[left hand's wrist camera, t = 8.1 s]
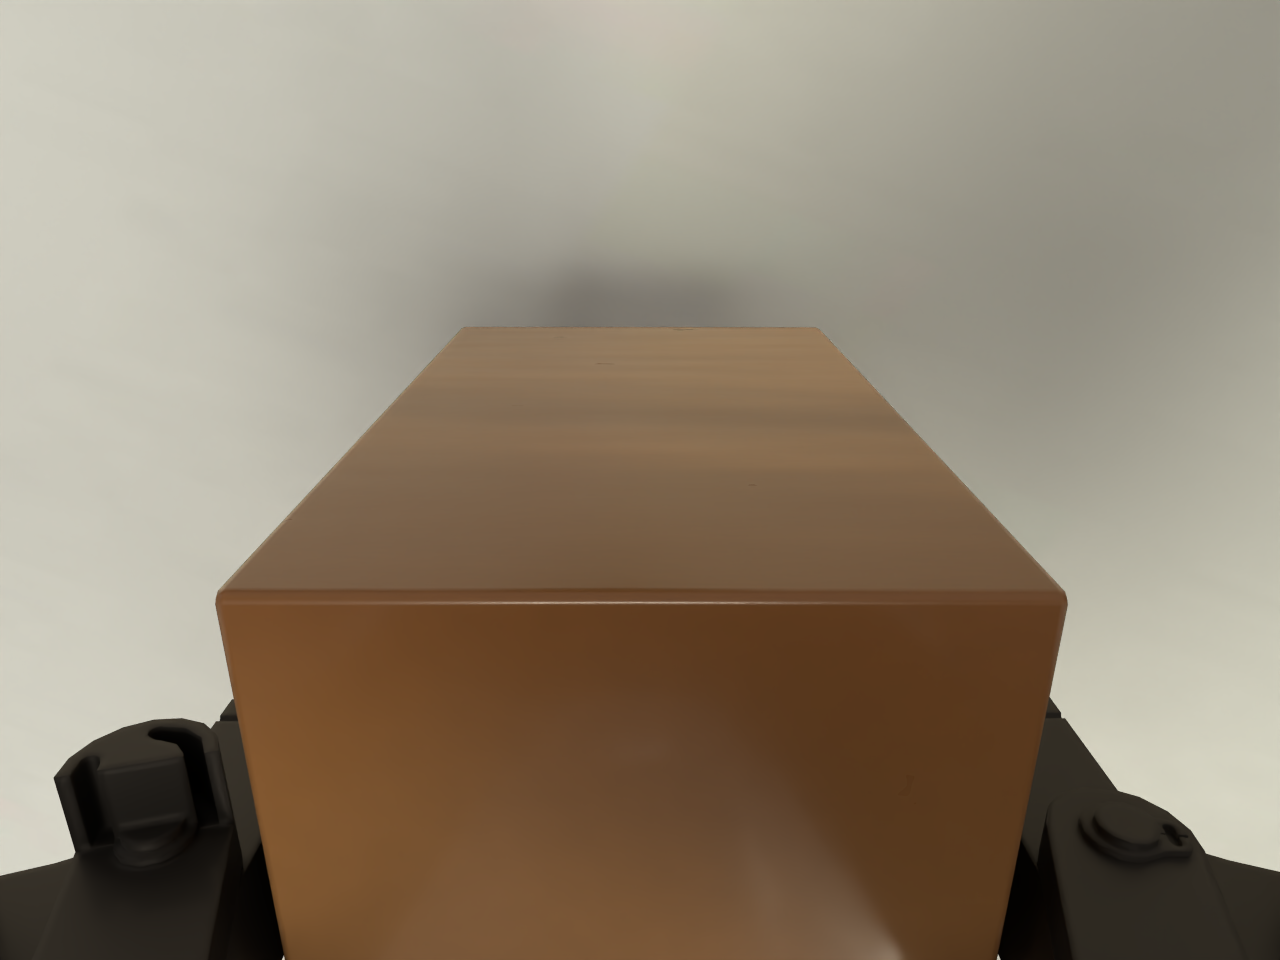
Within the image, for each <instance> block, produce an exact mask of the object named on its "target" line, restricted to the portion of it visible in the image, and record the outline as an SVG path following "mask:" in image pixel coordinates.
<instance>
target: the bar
mask: <svg viewBox="0 0 1280 960" xmlns="http://www.w3.org/2000/svg"><path fill="white" fill-rule="evenodd" d="M215 605H216V610H217V615H218V620H219V625H220V630H221V636H222V641H223V646H224V651H225V656H226V661H227V666H228V671H229V676H230V682H231V687H232V692H233V697H234V702H235V707H236V712H237V717H238V722H239V728H240V733H241V738H242V743H243V748H244V753H245V758H246V763H247V768H248V773H249V779H250V784H251V789H252V794H253V799H254V804H255V809H256V814H257V819H258V825H259V830H260V835H261V840H262V845H263V850H264V855H265V860H266V865H267V871H268V876H269V881H270V886H271V891H272V896H273V901H274V906H275V911H276V917H277V922H278V927H279V932H280V937H281V942H282V947H283V952H284V957H285V960H997V955H998V950H999V945H1000V940H1001V935H1002V930H1003V925H1004V920H1005V915H1006V910H1007V905H1008V900H1009V895H1010V890H1011V885H1012V880H1013V875H1014V870H1015V865H1016V860H1017V856H1018V851H1019V846H1020V841H1021V836H1022V831H1023V826H1024V821H1025V816H1026V811H1027V806H1028V801H1029V796H1030V791H1031V786H1032V781H1033V776H1034V771H1035V766H1036V761H1037V756H1038V751H1039V746H1040V741H1041V736H1042V731H1043V726H1044V721H1045V716H1046V711H1047V706H1048V701H1049V696H1050V691H1051V686H1052V681H1053V676H1054V671H1055V666H1056V661H1057V656H1058V651H1059V646H1060V641H1061V636H1062V631H1063V626H1064V621H1065V616H1066V611H1067V606H1068V603H1067V597H1066V593H1065V591H1064V590H1063V589H1062V588H1061V587H1060V586H1059V585H1058V584H1057V583H1056V582H1055V581H1054V579H1053V578H1052V577H1051V576H1050V575H1049V574H1048V573H1047V572H1046V571H1045V570H1044V569H1043V568H1042V567H1041V566H1040V564H1039V563H1038V562H1037V561H1036V560H1035V559H1034V558H1033V557H1032V556H1031V555H1030V554H1029V553H1028V552H1027V551H1026V550H1025V548H1024V547H1023V546H1022V545H1021V544H1020V543H1019V542H1018V541H1017V540H1016V539H1015V538H1014V537H1013V536H1012V535H1011V534H1010V532H1009V531H1008V530H1007V529H1006V528H1005V527H1004V526H1003V525H1002V524H1001V523H1000V522H999V521H998V520H997V519H996V517H995V516H994V515H993V514H992V513H991V512H990V511H989V510H988V509H987V508H986V507H985V506H984V505H983V504H982V503H981V501H980V500H979V499H978V498H977V497H976V496H975V495H974V494H973V493H972V492H971V491H970V490H969V489H968V488H967V486H966V485H965V484H964V483H963V482H962V481H961V480H960V479H959V478H958V477H957V476H956V475H955V474H954V473H953V472H952V470H951V469H950V468H949V467H948V466H947V465H946V464H945V463H944V462H943V461H942V460H941V459H940V458H939V457H938V456H937V454H936V453H935V452H934V451H933V450H932V449H931V448H930V447H929V446H928V445H927V444H926V443H925V442H924V441H923V439H922V438H921V437H920V436H919V435H918V434H917V433H916V432H915V431H914V430H913V429H912V428H911V427H910V426H909V425H908V423H907V422H906V421H905V420H904V419H903V418H902V417H901V416H900V415H899V414H898V413H897V412H896V411H895V410H894V409H893V407H892V406H891V405H890V404H889V403H888V402H887V401H886V400H885V399H884V398H883V397H882V396H881V395H880V394H879V392H878V391H877V390H876V389H875V388H874V387H873V386H872V385H871V384H870V383H869V382H868V381H867V380H866V379H865V378H864V376H863V375H862V374H861V373H860V372H859V371H858V370H857V369H856V368H855V367H854V366H853V365H852V364H851V363H850V361H849V360H848V359H847V358H846V357H845V356H844V355H843V354H842V353H841V352H840V351H839V350H838V349H837V348H836V347H835V345H834V344H833V343H832V342H831V341H830V340H829V339H828V338H827V337H826V336H825V335H824V334H823V333H822V332H821V331H820V329H818V328H815V327H464V328H462V329H461V330H460V331H459V332H458V333H457V334H456V335H455V336H454V337H453V339H452V340H451V341H450V342H449V343H448V344H447V345H446V346H445V347H444V348H443V349H442V350H441V351H440V353H439V354H438V355H437V356H436V357H435V358H434V359H433V360H432V361H431V362H430V363H429V364H428V365H427V367H426V368H425V369H424V370H423V371H422V372H421V373H420V374H419V375H418V376H417V377H416V378H415V379H414V381H413V382H412V383H411V384H410V385H409V386H408V387H407V388H406V389H405V390H404V391H403V392H402V393H401V395H400V396H399V397H398V398H397V399H396V400H395V401H394V402H393V403H392V404H391V405H390V406H389V407H388V409H387V410H386V411H385V412H384V413H383V414H382V415H381V416H380V417H379V418H378V419H377V420H376V421H375V423H374V424H373V425H372V426H371V427H370V428H369V429H368V430H367V431H366V432H365V433H364V434H363V435H362V436H361V438H360V439H359V440H358V441H357V442H356V443H355V444H354V445H353V446H352V447H351V448H350V449H349V450H348V452H347V453H346V454H345V455H344V456H343V457H342V458H341V459H340V460H339V461H338V462H337V463H336V464H335V466H334V467H333V468H332V469H331V470H330V471H329V472H328V473H327V474H326V475H325V476H324V477H323V478H322V480H321V481H320V482H319V483H318V484H317V485H316V486H315V487H314V488H313V489H312V490H311V491H310V492H309V494H308V495H307V496H306V497H305V498H304V499H303V500H302V501H301V502H300V503H299V504H298V505H297V506H296V508H295V509H294V510H293V511H292V512H291V513H290V514H289V515H288V516H287V517H286V518H285V519H284V520H283V522H282V523H281V524H280V525H279V526H278V527H277V528H276V529H275V530H274V531H273V532H272V533H271V534H270V536H269V537H268V538H267V539H266V540H265V541H264V542H263V543H262V544H261V545H260V546H259V547H258V548H257V549H256V551H255V552H254V553H253V554H252V555H251V556H250V557H249V558H248V559H247V560H246V561H245V562H244V563H243V565H242V566H241V567H240V568H239V569H238V570H237V571H236V572H235V573H234V574H233V575H232V576H231V577H230V579H229V580H228V581H227V582H226V583H225V584H224V585H223V586H222V587H221V588H220V589H219V590H218V593H217V596H216V602H215Z"/></svg>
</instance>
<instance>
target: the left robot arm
mask: <svg viewBox="0 0 1280 960" xmlns="http://www.w3.org/2000/svg"><path fill="white" fill-rule="evenodd" d="M54 781H55V784H56V788H57V791H58V794H59V798H60V801H61V805H62V808H63V811H64V815H65V818H66V821H67V825H68V828H69V831H70V835H71V838H72V842H73V845H74V848H75V855H74V857H73V858H71V859H68V860H64V861H61V862H58V863H54V864H50V865H46V866H41V867H37V868H33V869H28V870H24V871H19V872H15V873H11V874H6V875H2V876H0V960H282V958H283V956H284V952H283V947H282V942H281V937H280V932H279V927H278V922H277V917H276V911H275V906H274V901H273V896H272V891H271V886H270V881H269V876H268V871H267V865H266V860H265V855H264V850H263V845H262V840H261V835H260V830H259V825H258V819H257V814H256V809H255V804H254V799H253V794H252V789H251V784H250V779H249V773H248V768H247V763H246V758H245V753H244V748H243V743H242V738H241V733H240V728H239V722H238V717H237V712H236V707H235V702H234V699H232V700H231V702H230V703H229V704H228V706H227V707H226V709H225V710H224V711H223V713H222V714H221V715H220V721H216V722H215V724H214V725H213V727H212V728H211V729H210V728H209V727H208V726H206V725H205V724H204V723H200V722H196V721H191V720H187V719H183V718H179V719H159V720H151V721H147V722H143V723H139V724H135V725H131V726H127V727H123V728H121V729H119V730H116V731H114V732H112V733H110V734H108V735H105V736H103V737H101V738H99V739H96V740H94V741H93V742H91V743H90V744H88V745H87V746H86V747H84V748H83V749H81V750H80V751H78V752H77V753H76V754H74V755H73V756H71V757H70V758H69V759H68V760H67V761H66V763H65V764H64V765H63V766H62V768H61V769H60V770H59V771H58V773H57V774H56V775H55V777H54ZM998 955H999V957H1000V959H1001V960H1280V872H1278V871H1273V870H1269V869H1264V868H1260V867H1256V866H1251V865H1247V864H1242V863H1238V862H1234V861H1229V860H1226V859H1222V858H1219V857H1216V856H1212V855H1209V854H1206V853H1205V851H1204V849H1203V848H1202V846H1201V845H1200V843H1199V842H1198V840H1197V839H1196V838H1195V836H1194V835H1193V833H1192V832H1191V830H1190V829H1188V828H1187V827H1186V826H1185V825H1184V824H1182V823H1181V822H1180V821H1179V820H1177V819H1176V818H1175V817H1174V816H1172V815H1171V814H1170V813H1169V812H1168V811H1166V810H1164V809H1162V808H1160V807H1158V806H1156V805H1154V804H1152V803H1150V802H1148V801H1146V800H1144V799H1142V798H1140V797H1137V796H1134V795H1130V794H1127V793H1123V792H1120V791H1118V790H1117V789H1116V788H1115V786H1114V785H1113V783H1112V782H1111V781H1110V779H1109V778H1108V777H1107V775H1106V774H1105V773H1104V771H1103V770H1102V768H1101V767H1100V766H1099V764H1098V763H1097V762H1096V760H1095V759H1094V757H1093V756H1092V755H1091V753H1090V752H1089V751H1088V749H1087V748H1086V746H1085V745H1084V744H1083V742H1082V741H1081V740H1080V738H1079V737H1078V735H1077V734H1076V733H1075V731H1074V730H1073V729H1072V727H1071V726H1070V725H1069V723H1068V722H1067V720H1066V719H1065V718H1061V712H1060V711H1059V709H1058V708H1057V707H1056V705H1055V704H1054V703H1053V701H1052V700H1051V698H1050V697H1049V701H1048V706H1047V711H1046V716H1045V721H1044V726H1043V731H1042V736H1041V741H1040V746H1039V751H1038V756H1037V761H1036V766H1035V771H1034V776H1033V781H1032V786H1031V791H1030V796H1029V801H1028V806H1027V811H1026V816H1025V821H1024V826H1023V831H1022V836H1021V841H1020V846H1019V851H1018V856H1017V860H1016V865H1015V870H1014V875H1013V880H1012V885H1011V890H1010V895H1009V900H1008V905H1007V910H1006V915H1005V920H1004V925H1003V930H1002V935H1001V940H1000V945H999V950H998Z"/></svg>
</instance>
